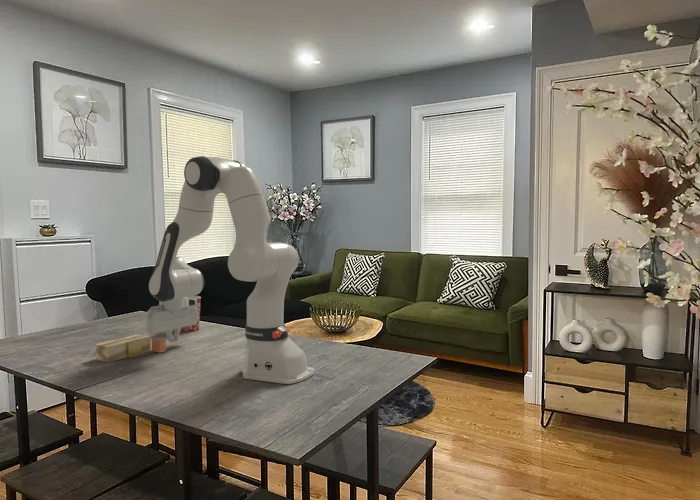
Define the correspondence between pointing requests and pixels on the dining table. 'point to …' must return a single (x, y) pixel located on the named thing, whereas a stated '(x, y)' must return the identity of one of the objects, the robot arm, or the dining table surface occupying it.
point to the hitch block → (120, 348)
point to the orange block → (158, 345)
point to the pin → (132, 348)
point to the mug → (196, 326)
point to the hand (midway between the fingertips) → (173, 341)
